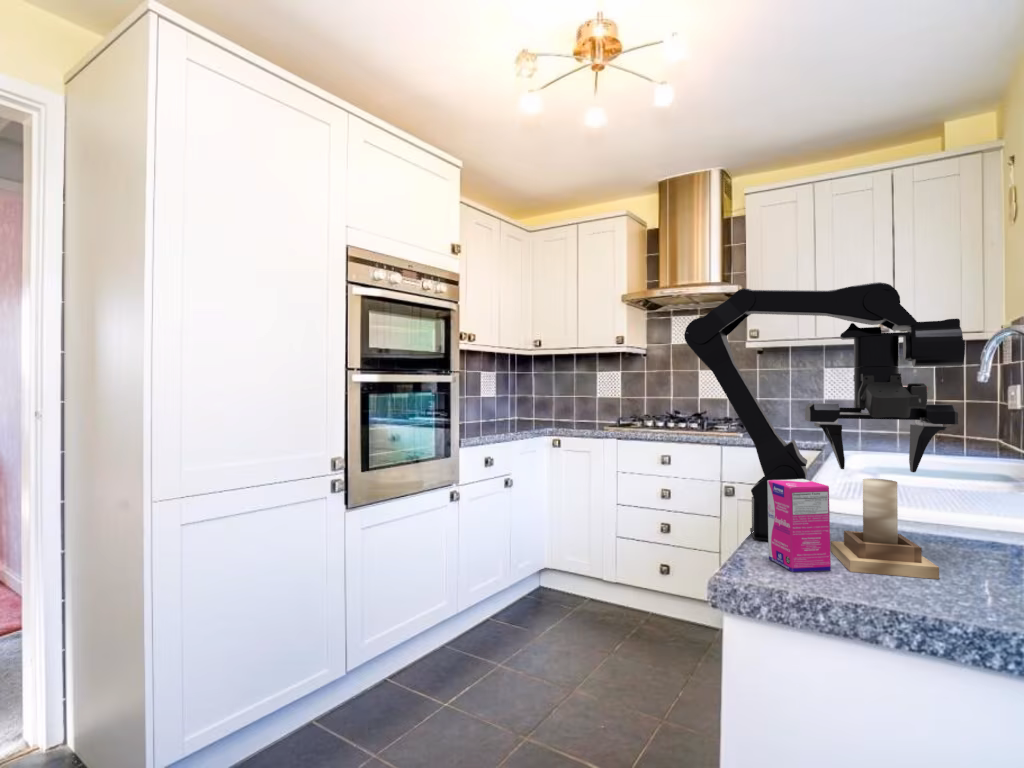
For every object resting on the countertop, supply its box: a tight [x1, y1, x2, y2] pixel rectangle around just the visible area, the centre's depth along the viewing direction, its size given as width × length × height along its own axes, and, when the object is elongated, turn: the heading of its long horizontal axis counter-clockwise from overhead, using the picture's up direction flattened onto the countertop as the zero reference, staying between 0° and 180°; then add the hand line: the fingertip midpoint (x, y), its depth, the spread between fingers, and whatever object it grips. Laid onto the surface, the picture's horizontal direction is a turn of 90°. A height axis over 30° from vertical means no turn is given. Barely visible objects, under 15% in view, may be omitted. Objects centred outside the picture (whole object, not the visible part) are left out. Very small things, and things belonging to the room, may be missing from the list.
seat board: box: [830, 530, 940, 580], centre depth 77 cm, size 10×10×4 cm
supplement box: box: [767, 479, 832, 573], centre depth 76 cm, size 6×6×12 cm
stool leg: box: [862, 478, 899, 545], centre depth 77 cm, size 4×4×10 cm
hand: (876, 470), depth 84 cm, fingers open, 9 cm apart
